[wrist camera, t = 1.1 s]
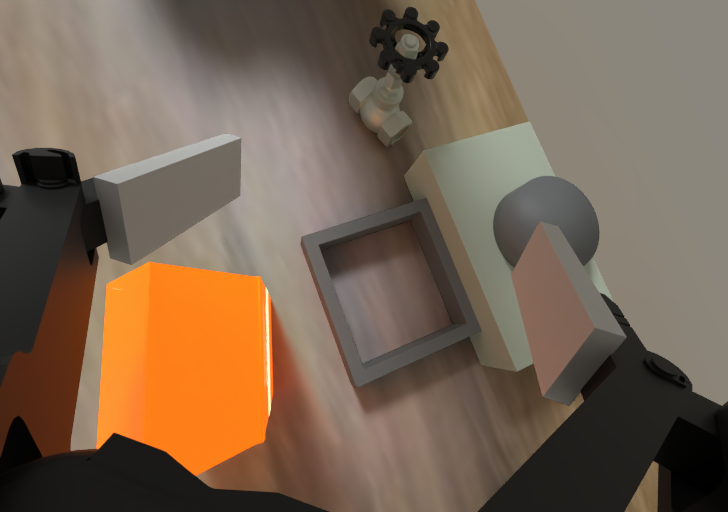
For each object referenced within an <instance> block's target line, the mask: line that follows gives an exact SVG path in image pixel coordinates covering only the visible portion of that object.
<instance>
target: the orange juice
mask: <svg viewBox="0 0 728 512" xmlns="http://www.w3.org/2000/svg"><path fill="white" fill-rule="evenodd" d="M272 397H273V370H272V331H271V298H270V296H269V294H268V290H267V288H265V286H264V284H263V282H262V278H260V276H259V277H253V276H246V275H238V274H231V273H224V272H217V271H209V270H202V269H195V268H188V267H181V266H173V265H166V264H159V263H152V262H148V263H146V264H144V265H143V266H141V267H139V268H137V269H135V270H133V271H131V272H129V273H127V274H125V275H124V276H122V277H120V278H118V279H116V280H114V281H112V282H110V283H108V284H107V291H106V307H105V323H104V339H103V354H102V370H101V386H100V402H99V418H98V434H97V449H99V448H100V447H101V446H102V445H103V444H104V443H105V441H106V440H107V439H108V438H109V437H110V436H111V435H112V434H113V433H114V432H115V433H117V434H120V435H123V436H125V437H128V438H131V439H134V440H136V441H139V442H142V443H144V444H147V445H150V446H152V447H155V448H158V449H161V450H163V451H166V452H167V453H168V454H169V455H171V456H172V457H173V458H174V459H175V460H177V461H178V462H179V463H180V464H181V465H183V466H184V467H185V468H186V469H188V470H189V471H190V472H191V473H192V474H194V475H195V476H196V475H198V474H200V473H202V472H204V471H206V470H208V469H210V468H211V467H213V466H215V465H217V464H219V463H221V462H223V461H225V460H227V459H229V458H231V457H233V456H234V455H236V454H238V453H240V452H242V451H244V450H246V449H248V448H250V447H252V446H254V445H256V444H259V443H263V442H264V440H265V432H266V427H267V422H268V417H269V415H270V410H271V402H272Z"/></svg>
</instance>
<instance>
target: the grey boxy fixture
mask: <svg viewBox="0 0 728 512" xmlns="http://www.w3.org/2000/svg"><path fill="white" fill-rule="evenodd" d="M404 179H405V181H406V184H407V186H408V189H409V191H410V193H411V196H412V198H413V201H414V202H411V203H408V204H404V205H401V206H398V207H395V208H392V209H388V210H385V211H382V212H379V213H376V214H373V215H369V216H366V217H363V218H360V219H357V220H353V221H350V222H347V223H344V224H341V225H338V226H334V227H331V228H328V229H325V230H322V231H318V232H315V233H312V234H309V235H306V236H303V237H302V238H301V247H302V250H303V253H304V255H305V258H306V261H307V264H308V266H309V269H310V272H311V275H312V278H313V280H314V283H315V286H316V289H317V291H318V294H319V297H320V300H321V302H322V305H323V308H324V311H325V313H326V316H327V319H328V322H329V324H330V327H331V330H332V333H333V335H334V338H335V341H336V344H337V346H338V349H339V352H340V355H341V357H342V360H343V363H344V366H345V368H346V371H347V374H348V377H349V379H350V382H351V384H353V385H354V386H355V387H356V388H358V387H360V386H362V385H364V384H367V383H369V382H371V381H373V380H375V379H378V378H380V377H382V376H384V375H386V374H388V373H391V372H393V371H395V370H397V369H399V368H402V367H404V366H406V365H408V364H410V363H413V362H415V361H417V360H419V359H421V358H424V357H426V356H428V355H430V354H432V353H434V352H437V351H439V350H441V349H443V348H445V347H448V346H450V345H452V344H454V343H456V342H459V341H461V340H463V339H465V338H467V337H470V340H471V342H472V345H473V347H474V350H475V352H476V354H477V357H478V359H479V362H480V364H481V365H482V366H488V367H493V368H499V369H504V370H510V371H515V372H518V371H520V370H522V369H524V368H525V367H527V366H529V365H531V364H533V359H532V355H531V351H530V347H529V343H528V339H527V335H526V332H525V328H524V324H523V320H522V316H521V312H520V308H519V304H518V301H517V297H516V293H515V289H514V285H513V281H512V277H511V274H512V272H513V270H514V268H515V267H516V265H517V263H518V261H519V259H520V257H521V255H522V253H523V251H524V249H525V248H526V246H527V244H528V242H529V240H530V238H531V236H532V234H533V232H534V230H535V228H536V227H537V225H538V223H539V221H542V222H545V223H549V224H552V225H556V226H559V228H560V230H561V231H562V233H563V235H564V236H565V238H566V239H567V241H568V243H569V244H570V246H571V248H572V249H573V251H574V252H575V254H576V256H577V257H578V259H579V261H580V262H581V264H582V265H583V267H584V269H585V270H586V272H587V273H588V275H589V277H590V278H591V280H592V282H593V283H594V285H595V286H596V288H597V290H598V291H599V293H602V294H605V295H606V296H607V297H608V298H609V299H611V300H612V301H613V299H612V297H611V295H610V293H609V291H608V289H607V287H606V284H605V282H604V280H603V278H602V276H601V274H600V271H599V269H598V267H597V265H596V263H595V261H594V258H593V255H594V253H595V252H596V249H597V246H598V241H599V225H598V220H597V217H596V213H595V211H594V208H593V207H592V205H591V203H590V202H589V200H588V199H587V197H586V196H585V195H584V194H583V192H582V191H580V190H579V189H578V188H577V187H576V186H574V185H573V184H572V183H570V182H568V181H566V180H564V179H562V178H559V177H555V175H554V173H553V171H552V168H551V166H550V164H549V162H548V160H547V158H546V156H545V153H544V151H543V149H542V147H541V145H540V142H539V140H538V138H537V136H536V134H535V132H534V130H533V127H532V125H531V123H530V122H526V123H522V124H518V125H515V126H511V127H507V128H504V129H500V130H496V131H493V132H489V133H485V134H482V135H478V136H474V137H471V138H467V139H463V140H459V141H456V142H452V143H448V144H445V145H441V146H437V147H434V148H430V149H426V150H423V152H422V153H421V154H420V156H419V157H418V158H417V160H416V161H415V162H414V163H413V165H412V166H411V167H410V169H409V170H408V171H407V173H406V174H405V175H404ZM410 220H411V222H412V225H413V227H414V230H415V232H416V234H417V237H418V239H419V242H420V244H421V247H422V249H423V252H424V254H425V257H426V259H427V262H428V264H429V266H430V269H431V271H432V274H433V276H434V279H435V281H436V284H437V286H438V289H439V291H440V294H441V296H442V298H443V301H444V303H445V306H446V308H447V311H448V313H449V316H450V318H451V321H452V323H453V324H452V325H450V326H448V327H445V328H443V329H441V330H439V331H436V332H434V333H432V334H429V335H427V336H425V337H423V338H420V339H418V340H416V341H413V342H411V343H409V344H407V345H404V346H402V347H400V348H397V349H395V350H393V351H391V352H388V353H386V354H384V355H381V356H379V357H377V358H375V359H372V360H370V361H368V362H365V363H363V364H362V361H361V359H360V356H359V353H358V351H357V348H356V345H355V342H354V340H353V337H352V334H351V332H350V329H349V326H348V323H347V321H346V318H345V315H344V313H343V310H342V307H341V305H340V302H339V299H338V296H337V294H336V291H335V288H334V286H333V283H332V280H331V277H330V275H329V272H328V269H327V267H326V264H325V261H324V258H323V256H322V253H321V250H322V249H325V248H328V247H331V246H334V245H337V244H340V243H343V242H346V241H349V240H353V239H356V238H359V237H362V236H365V235H368V234H371V233H374V232H377V231H380V230H383V229H386V228H389V227H392V226H395V225H398V224H401V223H404V222H407V221H410ZM613 302H614V301H613Z"/></svg>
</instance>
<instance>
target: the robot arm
mask: <svg viewBox="0 0 728 512" xmlns="http://www.w3.org/2000/svg"><path fill="white" fill-rule="evenodd" d="M12 156H13V159H14V162H15V165H16V168H17V171H18V174H19V177H20V181H21V186H20V187H17V186H9V185H2V182H1V179H0V512H328V511H326V510H323V509H320V508H318V507H315V506H312V505H309V504H307V503H304V502H301V501H299V500H296V499H293V498H290V497H288V496H285V495H282V494H280V493H274V492H257V491H240V490H223V489H214V488H211V487H209V486H207V485H206V484H205V483H203V482H202V481H201V480H200V479H198V478H197V477H196V476H195V475H194V474H192V473H191V472H190V471H189V470H188V469H186V468H185V467H184V466H183V465H181V464H180V463H179V462H178V461H177V460H175V459H174V458H173V457H172V456H171V455H169V454H168V453H167V452H166V451H163V450H161V449H158V448H155V447H152V446H150V445H147V444H144V443H142V442H139V441H136V440H134V439H131V438H128V437H125V436H123V435H120V434H117V433H115V432H114V433H113V434H112V435H111V436H110V437H109V438H108V439H107V440H106V441H105V443H104V444H103V445H102V446H101V447H100V448H99V449H88V450H75V451H70V443H71V434H72V428H73V421H74V415H75V408H76V402H77V395H78V389H79V382H80V376H81V369H82V363H83V356H84V350H85V343H86V337H87V330H88V324H89V317H90V311H91V304H92V298H93V291H94V285H95V278H96V272H97V265H98V259H99V257H98V253H97V249H96V247H98V246H100V245H102V244H104V243H106V242H107V245H108V250H109V255H110V258H111V259H114V260H118V261H121V262H124V263H127V264H130V265H132V264H134V263H136V262H137V261H139V260H140V259H142V258H143V257H145V256H147V255H148V254H150V253H151V252H153V251H154V250H156V249H158V248H159V247H161V246H162V245H164V244H165V243H167V242H168V241H170V240H172V239H173V238H175V237H176V236H178V235H179V234H181V233H183V232H184V231H186V230H187V229H189V228H190V227H192V226H193V225H195V224H197V223H198V222H200V221H201V220H203V219H204V218H206V217H208V216H209V215H211V214H212V213H214V212H215V211H217V210H219V209H220V208H222V207H223V206H225V205H226V204H228V203H229V202H231V201H233V200H234V199H236V198H237V197H239V196H240V178H241V138H240V137H236V136H233V135H229V134H222V135H219V136H216V137H213V138H210V139H207V140H204V141H201V142H198V143H194V144H191V145H188V146H185V147H182V148H179V149H176V150H173V151H170V152H167V153H164V154H161V155H158V156H155V157H152V158H149V159H146V160H142V161H139V162H136V163H133V164H130V165H127V166H124V167H121V168H118V169H115V170H112V171H109V172H106V173H103V174H100V175H97V176H94V177H93V178H91V179H88V180H85V181H82V182H81V180H80V176H79V172H78V167H77V163H76V159H75V155H74V154H73V153H71V152H69V151H66V150H62V149H54V148H33V149H25V150H21V151H18V152H16V153H14V154H13V155H12ZM511 277H512V281H513V285H514V289H515V293H516V297H517V301H518V304H519V308H520V312H521V316H522V320H523V324H524V328H525V332H526V335H527V339H528V343H529V347H530V351H531V355H532V359H533V363H534V366H535V370H536V374H537V378H538V382H539V386H540V390H541V393H542V397H543V398H547V399H550V400H553V401H556V402H559V403H562V404H565V405H568V406H570V404H571V403H572V402H573V401H574V400H575V398H576V397H577V396H578V395H579V394H580V392H581V393H582V396H583V399H584V402H583V403H582V404H581V405H580V406H579V407H578V408H577V409H576V410H575V411H574V412H573V413H572V414H571V415H570V417H569V418H568V419H567V420H566V421H565V422H564V423H563V424H562V425H561V426H560V427H559V428H558V429H557V430H556V431H555V432H554V433H553V434H552V435H551V436H550V437H549V438H548V439H547V440H546V441H545V442H544V443H543V444H542V446H541V447H540V448H539V449H538V450H537V451H536V452H535V453H534V454H533V455H532V456H531V457H530V458H529V459H528V460H527V461H526V462H525V463H524V464H523V465H522V466H521V467H520V468H519V469H518V470H517V471H516V472H515V473H514V475H513V476H512V477H511V478H510V479H509V480H508V481H507V482H506V483H505V484H504V485H503V486H502V487H501V488H500V489H499V490H498V491H497V492H496V493H495V494H494V495H493V496H492V497H491V498H490V499H489V500H488V501H487V503H486V504H485V505H484V506H483V507H482V508H481V509H480V510H479V511H478V512H624V511H625V510H626V508H627V506H628V504H629V502H630V501H631V499H632V497H633V495H634V494H635V492H636V490H637V488H638V486H639V485H640V483H641V481H642V479H643V478H644V476H645V474H646V472H647V470H648V469H649V467H650V465H651V463H652V461H655V462H656V463H658V464H659V469H658V512H728V402H726V403H725V404H724V405H723V406H721V405H718V404H717V403H715V402H713V401H711V400H709V399H707V398H705V397H703V396H701V395H698V394H696V393H694V392H692V384H691V382H690V380H689V379H688V377H687V376H686V375H685V374H684V373H683V372H682V371H681V370H680V369H679V368H678V367H677V366H675V365H674V364H673V363H671V362H670V361H668V360H667V359H665V358H663V357H661V356H659V355H657V354H655V353H652V352H650V351H647V350H646V348H645V347H644V345H643V344H642V342H641V341H640V340H639V338H638V336H637V335H636V333H635V332H634V330H633V329H632V328H631V327H630V324H629V323H628V321H627V319H626V318H624V315H623V313H622V312H621V310H620V309H619V307H618V306H617V305H616V304H615V303H614V302H613V301H612V300H611V299H609V298H608V297H607V296H606V295H605V294H602V293H599V291H598V290H597V288H596V286H595V285H594V283H593V282H592V280H591V278H590V277H589V275H588V273H587V272H586V270H585V269H584V267H583V265H582V264H581V262H580V261H579V259H578V257H577V256H576V254H575V252H574V251H573V249H572V248H571V246H570V244H569V243H568V241H567V239H566V238H565V236H564V235H563V233H562V231H561V230H560V228H559V226H556V225H552V224H549V223H545V222H542V221H539V223H538V225H537V227H536V228H535V230H534V232H533V234H532V236H531V238H530V240H529V242H528V244H527V246H526V248H525V249H524V251H523V253H522V255H521V257H520V259H519V261H518V263H517V265H516V267H515V268H514V270H513V272H512V274H511Z"/></svg>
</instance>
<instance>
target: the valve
mask: <svg viewBox="0 0 728 512" xmlns="http://www.w3.org/2000/svg"><path fill="white" fill-rule="evenodd" d="M417 17H418V12H417V10H416V9H415V8H413V7H408V8H407V9H406V10H405V13H404V16H403V18H402V19H398V18H396V16H395V13H394V12H393V11H392V10H389V9H387V10H384V11H383V13H382V17H381V20H380V26H381V27H383V26H385V25H386V26H387V28H386V29H385V30H383V29H382V28H380V27H375V28H373V29H372V32H371V35H370V39H369V42H370V44H371V45H372V46H373V47H376V46H377V43H381V44H383V48H384V50H383V51H382V52H381V53H380V56H379V59H378V66H379V67H380V68H381V69H383V70H387V69H389V70H388V72H387V75H386V77H384V78H381V79H379V80H378V81H377V80H376V79H375V78H374V77H366V78H364V79H363V80H361V81H360V82H359V83H358V84H357V85H356V86H355V87H354V88H353V90H352V91H351V93H350V95H349V99H348V103H349V105H350V106H351V107H352V108H353V109H354V110H355V111H356V113H360V116H361V119H362V121H363V123H364V124H365V126H366V127H367V128H368V129H369V130H371V131H373V132H375V133H378V135H377V137H378V138H379V139H380V140H381V142H382V143H383V144H384V145H385V146H391V145H393V144H394V143H396V142H397V141H398V140H399V139H401V138H402V137H403V136H404V135H405V134H406V132H407V131H408V130H409V129H410V127H411V125H412V120H411V119H410V118H409V117H408V116H407V114H406V113H405V112H404V111H401V112H400V107H399V104H400V102H401V100H402V98H403V95H404V91H403V88H402V83H403V82H405V83H410V82H412V80H413V78H414V76H415V74H416V72H417V70H419V69H422V68H423V69H424V70H425V72H426V73H425V75H424V77H425V78H427V79H433V78H434V77H435V75H436V73H437V72H438V70H439V64H438V62H437V61H442V60H443V59H444V57H445V56H446V54H447V52H448V46H447V44H446V43H444V42H438V43H437V42H436V41H435V40H434V39H435V37H436V35H437V33H438V31H439V29H440V26H439V24H438V23H437V22H436V21H434V20H431V21H429V22H428V23H427V24H426V25H423V24H421V23H420V22H418V21H417ZM401 29H407V30H411V31H413V32H415V33H417V34H418V35H420V36H421V37H422V38H423V40H424V41H425V43H426V46H425V48H424V50H423V51H421V52H418V48H419V45H420V42H419V40H418V39H417V38H416V37H415V36H414V35H412V34H404V35H402V38H401V40H400V41H399V42H398V43H397V42H396V40H395V34H396V32H397V31H398V30H401ZM434 56H438V59H437V61H435V60H433V57H434Z"/></svg>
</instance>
